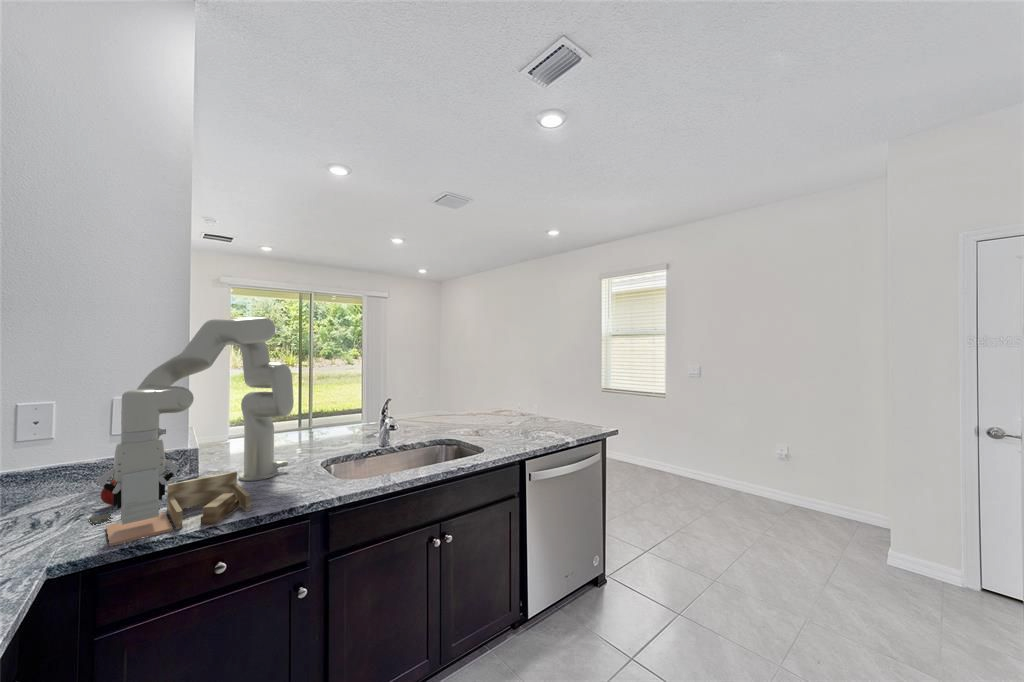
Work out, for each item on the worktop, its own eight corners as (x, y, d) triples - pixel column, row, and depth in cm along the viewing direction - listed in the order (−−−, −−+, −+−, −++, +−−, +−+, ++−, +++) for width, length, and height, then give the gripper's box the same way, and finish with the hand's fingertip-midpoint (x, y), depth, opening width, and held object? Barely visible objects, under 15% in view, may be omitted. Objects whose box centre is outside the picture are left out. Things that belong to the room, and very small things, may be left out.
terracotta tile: (164, 515, 119) (164, 512, 119) (172, 530, 109) (172, 527, 109) (106, 528, 110) (106, 525, 110) (109, 546, 100) (109, 543, 100)
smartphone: (163, 506, 123) (93, 524, 111) (163, 509, 123) (93, 527, 111) (155, 501, 128) (87, 518, 115) (155, 503, 128) (87, 521, 115)
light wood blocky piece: (235, 495, 134) (235, 471, 134) (250, 510, 123) (250, 483, 123) (167, 511, 121) (167, 484, 121) (176, 529, 110) (177, 499, 110)
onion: (110, 510, 122) (110, 483, 122) (95, 508, 123) (95, 481, 123) (132, 502, 128) (132, 476, 128) (117, 501, 129) (117, 475, 129)
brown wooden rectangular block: (226, 508, 124) (226, 491, 124) (239, 507, 125) (239, 491, 125) (200, 526, 112) (200, 507, 112) (214, 525, 113) (215, 507, 113)
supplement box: (156, 509, 115) (157, 463, 115) (159, 517, 109) (159, 469, 109) (120, 516, 109) (120, 469, 110) (120, 525, 104) (121, 475, 104)
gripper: (179, 429, 118) (178, 490, 118) (93, 439, 106) (92, 508, 106) (184, 433, 113) (183, 497, 113) (94, 444, 101) (93, 516, 101)
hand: (139, 502), depth 109 cm, fingers closed on supplement box, 7 cm apart
